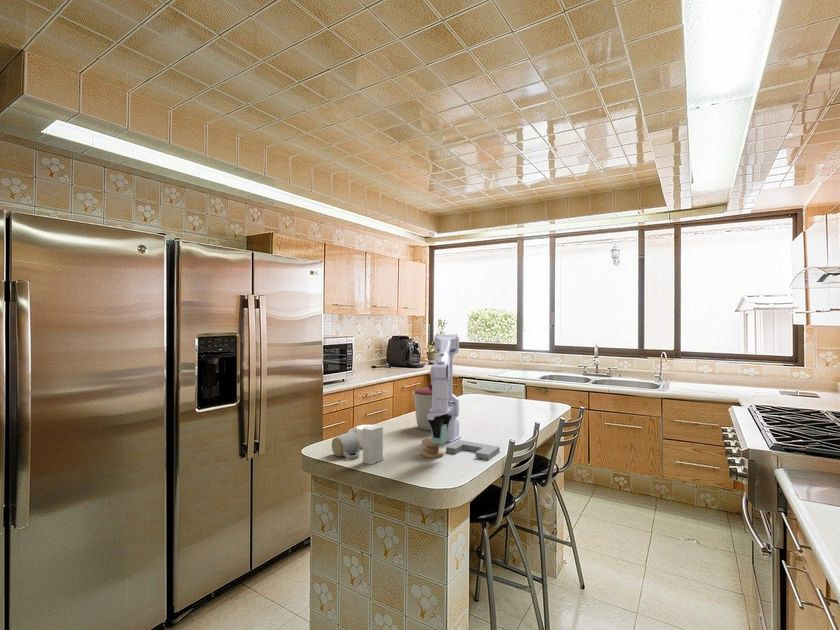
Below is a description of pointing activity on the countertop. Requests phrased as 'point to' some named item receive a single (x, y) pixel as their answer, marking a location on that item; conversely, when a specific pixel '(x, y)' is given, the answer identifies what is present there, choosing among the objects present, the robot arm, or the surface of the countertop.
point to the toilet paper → (359, 432)
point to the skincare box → (372, 444)
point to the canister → (423, 406)
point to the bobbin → (431, 449)
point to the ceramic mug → (346, 445)
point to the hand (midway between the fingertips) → (439, 436)
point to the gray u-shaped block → (474, 449)
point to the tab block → (442, 436)
